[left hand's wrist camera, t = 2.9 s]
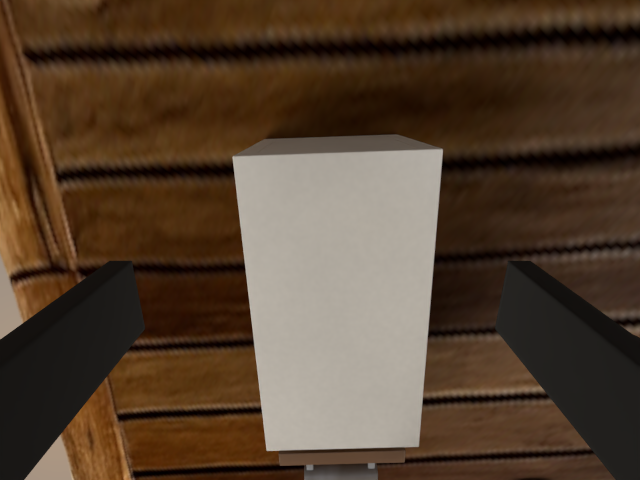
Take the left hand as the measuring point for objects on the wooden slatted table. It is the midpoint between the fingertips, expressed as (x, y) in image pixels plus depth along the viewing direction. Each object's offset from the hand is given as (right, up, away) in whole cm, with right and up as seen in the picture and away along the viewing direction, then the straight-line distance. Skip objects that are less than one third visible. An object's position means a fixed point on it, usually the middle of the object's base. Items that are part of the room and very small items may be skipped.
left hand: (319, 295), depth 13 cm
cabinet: (+1, +1, +19) cm, 19 cm away
